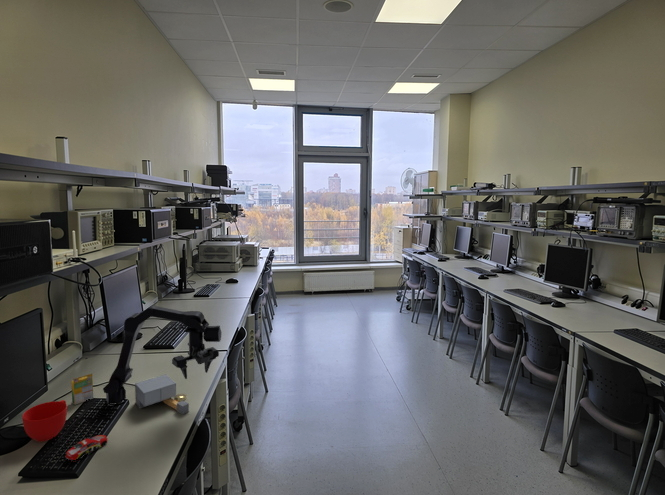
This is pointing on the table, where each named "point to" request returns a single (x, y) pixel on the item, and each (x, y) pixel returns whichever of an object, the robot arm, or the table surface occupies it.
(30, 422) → the red spouted bowl
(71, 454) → the race car
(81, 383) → the crayon box
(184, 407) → the gray mallet
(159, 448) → the table surface
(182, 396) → the disc
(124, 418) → the table surface
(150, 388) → the cabinet
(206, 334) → the robot arm
